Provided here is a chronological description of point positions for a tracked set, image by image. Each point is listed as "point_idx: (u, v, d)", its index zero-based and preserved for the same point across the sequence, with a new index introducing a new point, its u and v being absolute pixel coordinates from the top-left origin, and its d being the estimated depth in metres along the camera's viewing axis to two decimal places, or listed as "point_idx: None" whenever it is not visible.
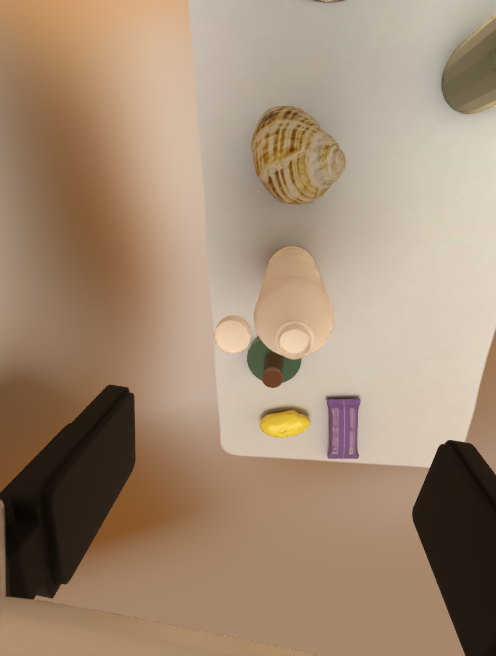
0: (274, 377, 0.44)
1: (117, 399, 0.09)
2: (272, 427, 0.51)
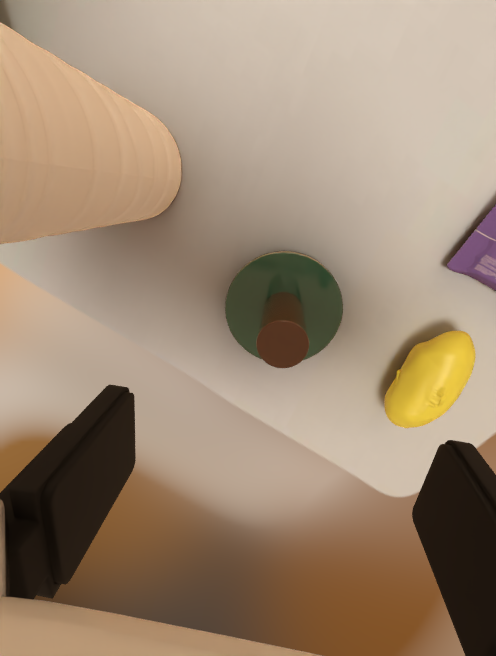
0: (281, 339, 0.17)
1: (117, 399, 0.09)
2: (411, 410, 0.22)
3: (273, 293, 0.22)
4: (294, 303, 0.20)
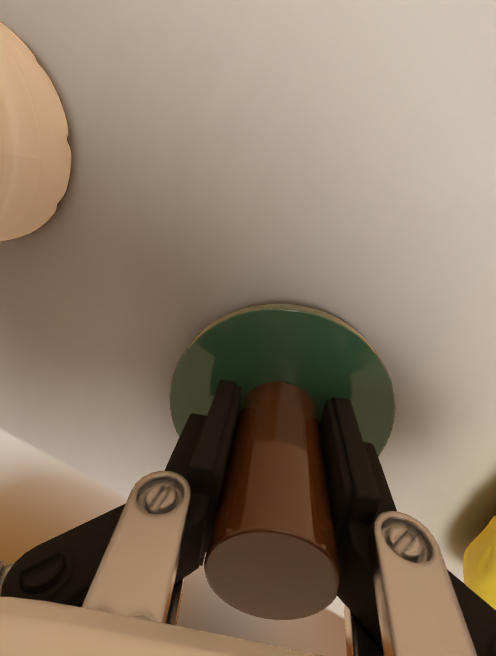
0: (268, 568, 0.07)
1: (233, 392, 0.10)
2: None
3: (259, 384, 0.11)
4: (300, 423, 0.09)
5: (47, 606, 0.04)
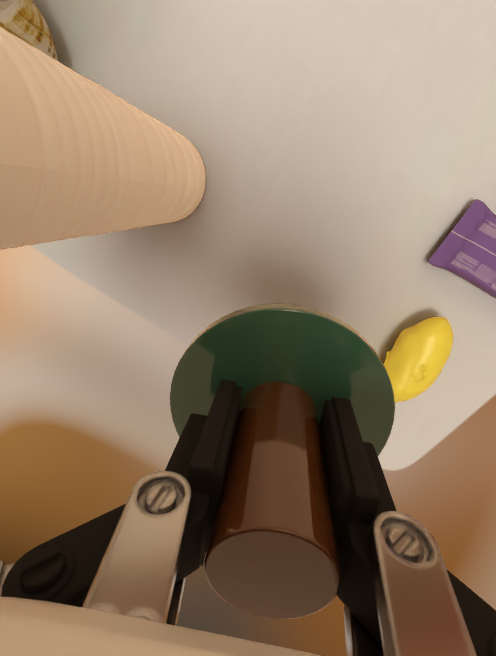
0: (269, 567, 0.07)
1: (234, 392, 0.10)
2: (398, 385, 0.25)
3: (259, 383, 0.11)
4: (300, 422, 0.09)
5: (47, 606, 0.04)
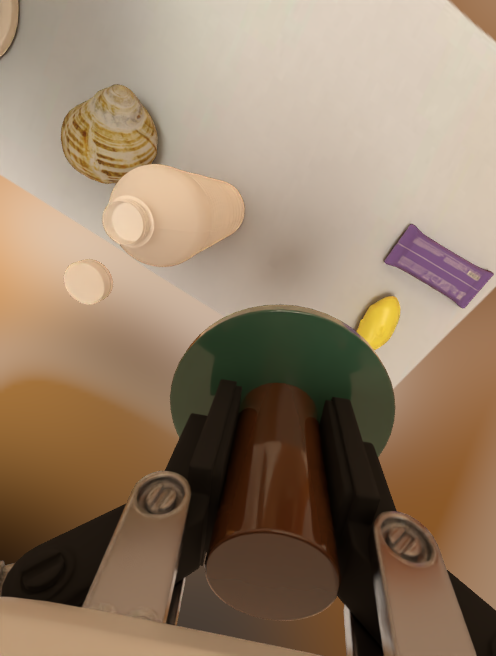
0: (269, 569, 0.07)
1: (234, 392, 0.10)
2: (367, 340, 0.40)
3: (259, 384, 0.11)
4: (301, 424, 0.09)
5: (47, 606, 0.04)
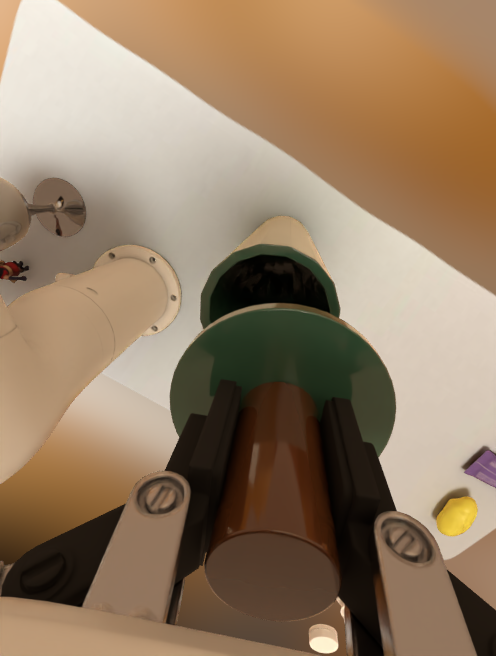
0: (269, 568, 0.07)
1: (233, 392, 0.10)
2: (450, 531, 0.50)
3: (259, 383, 0.11)
4: (301, 423, 0.09)
5: (47, 606, 0.04)
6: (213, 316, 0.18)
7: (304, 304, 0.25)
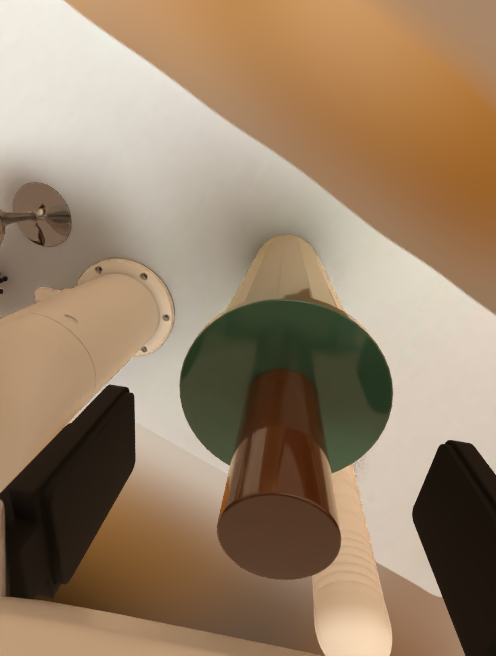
0: (276, 529, 0.07)
1: (117, 399, 0.09)
2: None
3: (264, 371, 0.12)
4: (304, 405, 0.10)
5: (47, 606, 0.04)
6: None
7: None
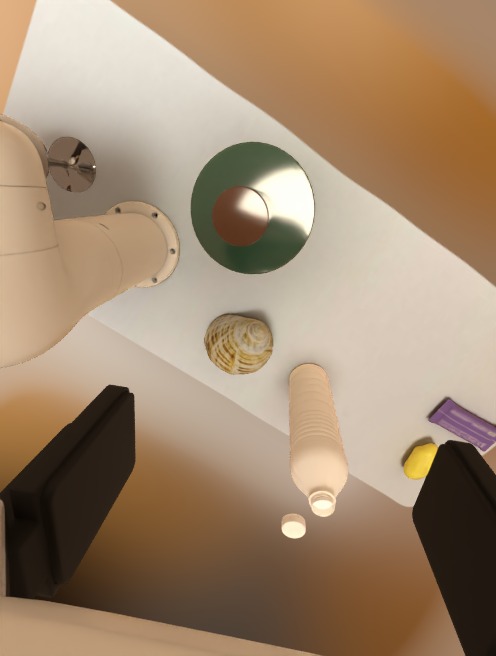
0: (239, 210, 0.16)
1: (117, 399, 0.09)
2: (414, 473, 0.56)
3: None
4: None
5: (47, 606, 0.04)
6: None
7: None
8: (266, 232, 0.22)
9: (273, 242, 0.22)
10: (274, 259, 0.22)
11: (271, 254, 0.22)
